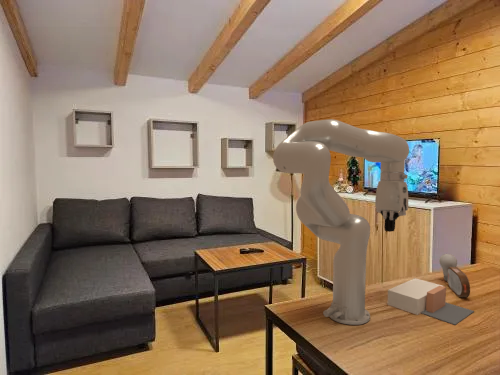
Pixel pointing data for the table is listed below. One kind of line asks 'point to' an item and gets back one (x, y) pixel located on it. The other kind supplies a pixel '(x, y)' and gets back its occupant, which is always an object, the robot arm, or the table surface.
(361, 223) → the robot arm
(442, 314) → the mat
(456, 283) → the tin
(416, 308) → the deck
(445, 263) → the lightbulb
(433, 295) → the tile
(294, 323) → the table surface
